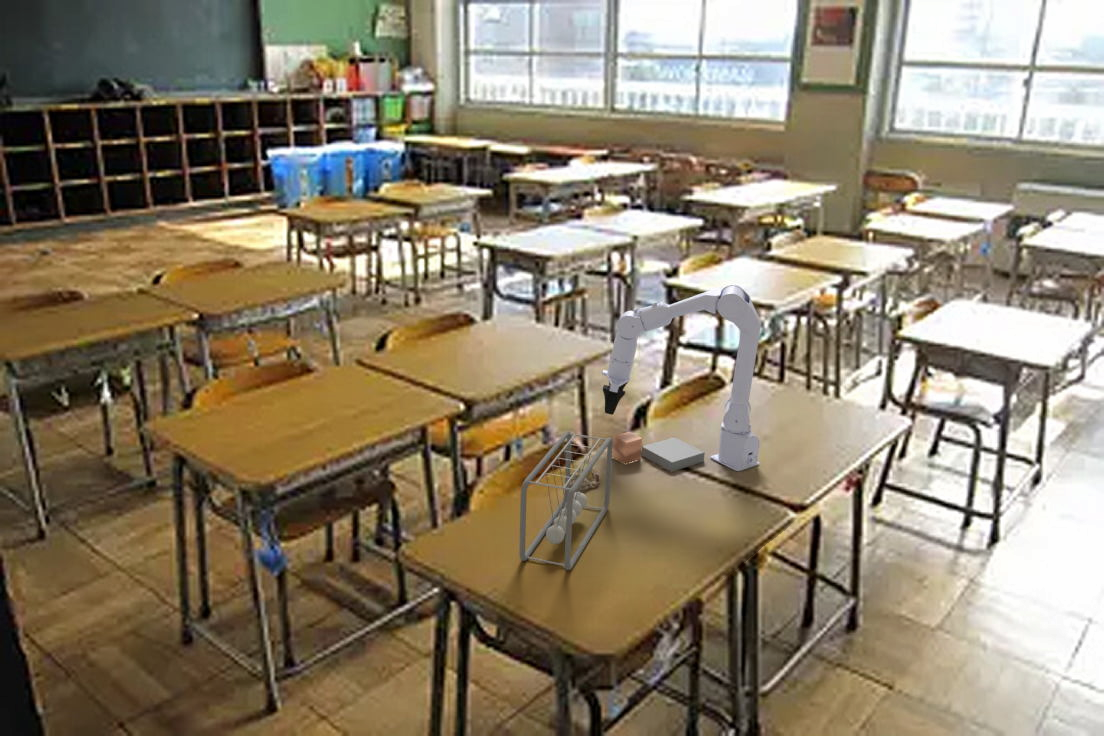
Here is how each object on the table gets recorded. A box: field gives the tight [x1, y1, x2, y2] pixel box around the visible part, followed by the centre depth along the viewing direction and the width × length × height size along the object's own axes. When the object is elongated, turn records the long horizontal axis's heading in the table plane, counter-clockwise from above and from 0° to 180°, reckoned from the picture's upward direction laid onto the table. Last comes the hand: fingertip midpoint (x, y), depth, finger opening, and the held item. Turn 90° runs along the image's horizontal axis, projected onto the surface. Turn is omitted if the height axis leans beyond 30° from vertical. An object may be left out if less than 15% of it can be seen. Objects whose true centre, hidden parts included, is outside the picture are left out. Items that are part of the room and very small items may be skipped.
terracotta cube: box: [612, 431, 643, 464], centre depth 231 cm, size 5×5×6 cm
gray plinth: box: [641, 436, 705, 472], centre depth 232 cm, size 11×11×2 cm
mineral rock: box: [570, 467, 601, 493], centre depth 218 cm, size 11×4×8 cm
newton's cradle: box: [518, 430, 613, 571], centre depth 193 cm, size 30×10×18 cm, turn 161°
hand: (610, 407), depth 236 cm, fingers open, 7 cm apart
